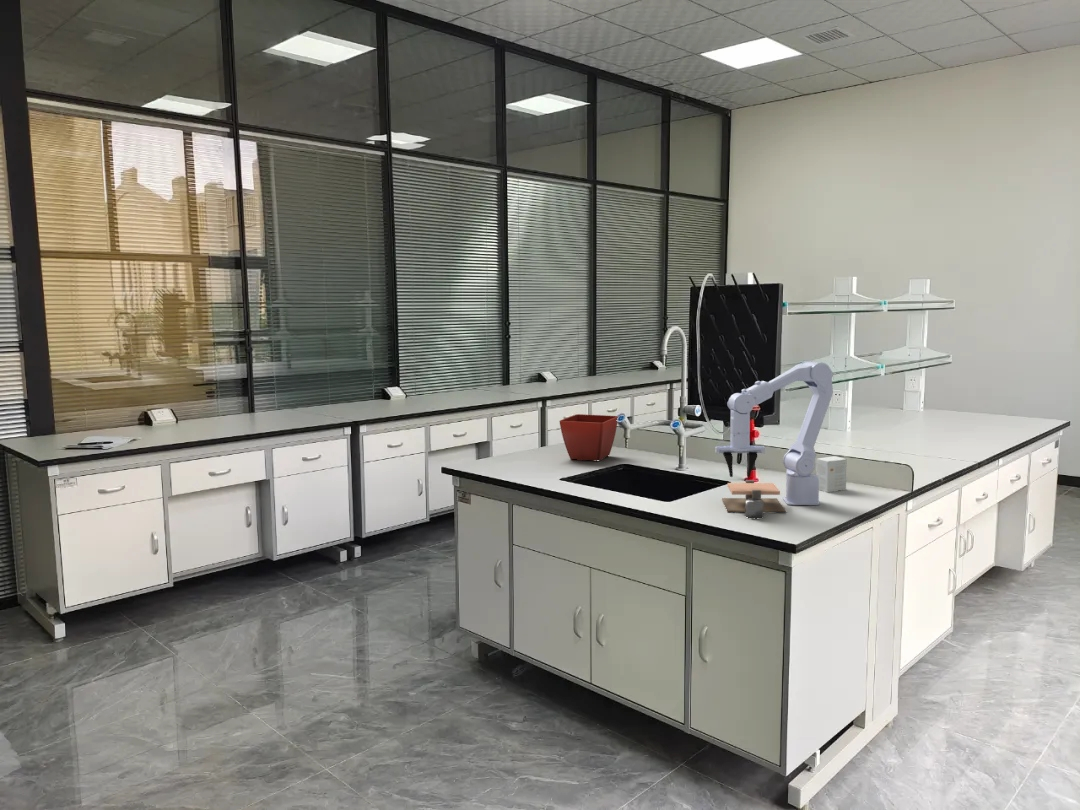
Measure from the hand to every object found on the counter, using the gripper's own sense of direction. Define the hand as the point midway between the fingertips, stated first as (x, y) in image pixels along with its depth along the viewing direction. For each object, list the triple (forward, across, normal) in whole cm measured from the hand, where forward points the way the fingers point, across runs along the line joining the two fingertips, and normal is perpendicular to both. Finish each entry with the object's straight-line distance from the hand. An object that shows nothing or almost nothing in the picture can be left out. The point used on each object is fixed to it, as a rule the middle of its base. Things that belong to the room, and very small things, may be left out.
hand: (739, 476), depth 236 cm
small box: (+10, +32, +22) cm, 40 cm away
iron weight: (+10, +2, -12) cm, 16 cm away
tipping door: (+4, +4, 0) cm, 6 cm away
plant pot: (+10, -50, +76) cm, 92 cm away
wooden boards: (+9, +4, 0) cm, 10 cm away
